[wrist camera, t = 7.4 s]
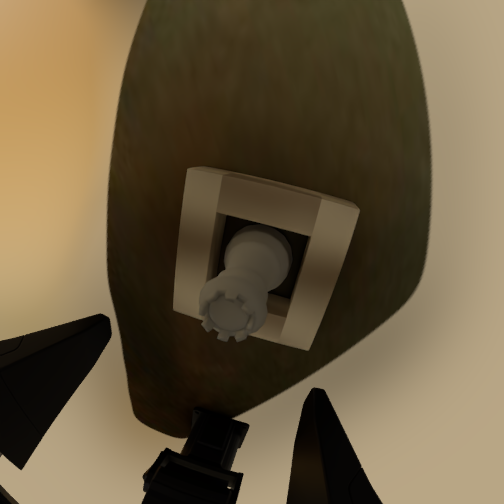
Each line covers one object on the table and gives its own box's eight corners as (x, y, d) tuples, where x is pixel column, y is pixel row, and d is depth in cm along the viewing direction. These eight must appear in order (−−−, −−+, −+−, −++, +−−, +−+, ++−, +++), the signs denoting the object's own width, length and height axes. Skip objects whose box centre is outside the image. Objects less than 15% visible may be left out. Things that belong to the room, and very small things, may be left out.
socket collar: (310, 329, 20) (308, 350, 18) (186, 293, 21) (173, 309, 19) (353, 202, 16) (360, 210, 14) (203, 165, 17) (187, 168, 15)
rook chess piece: (275, 293, 20) (252, 371, 12) (220, 266, 20) (169, 329, 12) (304, 240, 18) (297, 303, 10) (243, 211, 18) (194, 252, 11)
